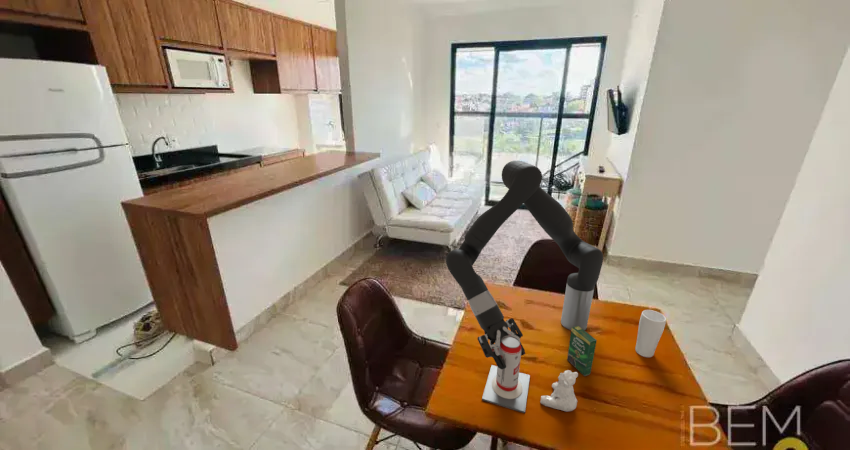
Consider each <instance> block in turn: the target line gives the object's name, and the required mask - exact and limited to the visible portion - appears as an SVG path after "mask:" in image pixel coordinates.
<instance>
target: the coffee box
mask: <svg viewBox="0 0 850 450" xmlns="http://www.w3.org/2000/svg"><path fill="white" fill-rule="evenodd" d="M568 345H569V346H568V352H567V357H566V359H567V360H566V361H568V363H569V364H571V365H572V366H573V367H574V368H575V369H576V370H577V372H579V373H580V374H581V375H582V376H583V377H586V376H589V375H590V374H591V372H592V368H593V367H592V366H593V361H594V356H595V350H596V346H597V339H596V338H595V337H593V336H592V335H591V334H589V333H588V332H587V331H586V330H583V329H582V328H580V327H579V326H575V327H572V329H571V330H570V338H569V344H568Z"/></svg>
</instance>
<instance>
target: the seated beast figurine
mask: <svg viewBox="0 0 850 450" xmlns="http://www.w3.org/2000/svg"><path fill="white" fill-rule="evenodd" d="M578 377H579V373H578V371H574V372H572V370H569V369H567V370H564V371H563V372H560V373H559V376H558V377H557V379H558V381H555V382H553V383H552V384H551V388H552V389H553V392H552V393H551V394H550V395H541V396H540V401H539V402H540V404H541V405H543V406H545V407H548V408H551V409H555V410H558V411H559V410H561V411H562V412H563V411H564V412H573V411H574V410H575V409H576V408H577V406H578V399H577V397H576V394H575V392H574V391H575V390H574V386H575V383H576V380H577V379H576V378H578Z"/></svg>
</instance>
